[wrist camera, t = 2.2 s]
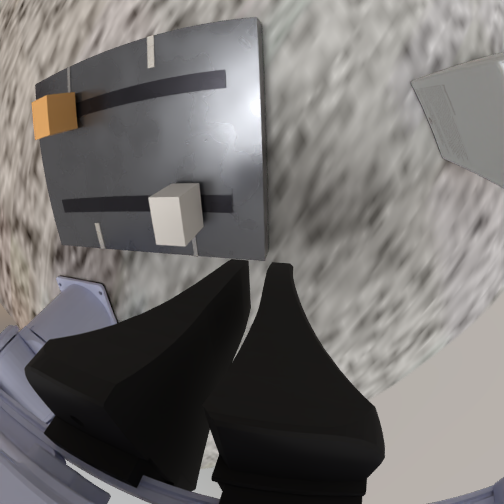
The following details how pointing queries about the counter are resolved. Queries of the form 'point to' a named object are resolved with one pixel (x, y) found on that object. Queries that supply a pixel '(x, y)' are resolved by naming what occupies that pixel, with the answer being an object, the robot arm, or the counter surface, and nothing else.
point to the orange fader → (54, 114)
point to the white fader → (176, 214)
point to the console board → (164, 141)
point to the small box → (468, 114)
